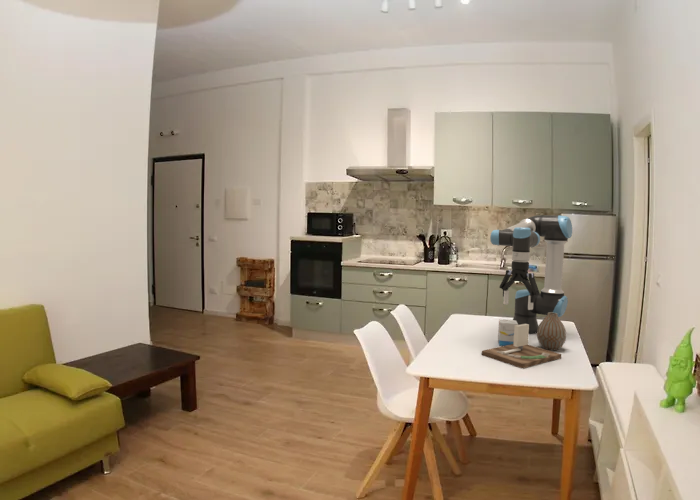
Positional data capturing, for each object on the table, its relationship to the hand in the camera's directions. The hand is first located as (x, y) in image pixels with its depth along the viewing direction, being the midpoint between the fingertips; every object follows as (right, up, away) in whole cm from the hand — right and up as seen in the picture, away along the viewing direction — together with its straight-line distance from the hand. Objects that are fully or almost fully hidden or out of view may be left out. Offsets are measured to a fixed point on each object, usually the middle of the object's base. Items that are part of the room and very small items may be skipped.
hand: (517, 306), depth 222 cm
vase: (+20, -22, +13) cm, 33 cm away
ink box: (+1, -21, +19) cm, 28 cm away
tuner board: (+1, -23, -2) cm, 23 cm away
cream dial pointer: (-2, -20, -1) cm, 20 cm away
